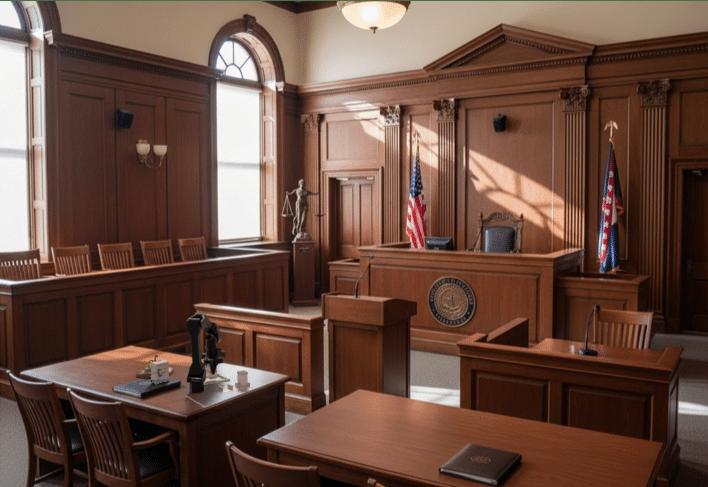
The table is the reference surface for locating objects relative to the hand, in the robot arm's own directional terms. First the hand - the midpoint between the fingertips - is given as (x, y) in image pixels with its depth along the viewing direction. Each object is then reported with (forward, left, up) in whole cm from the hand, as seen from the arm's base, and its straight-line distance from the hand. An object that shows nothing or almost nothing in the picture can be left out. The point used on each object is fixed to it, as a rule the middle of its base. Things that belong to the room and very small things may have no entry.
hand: (211, 373), depth 368 cm
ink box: (-24, +15, -5) cm, 29 cm away
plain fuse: (+8, -22, -4) cm, 24 cm away
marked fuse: (0, 0, -2) cm, 3 cm away
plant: (-19, +36, -5) cm, 41 cm away
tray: (0, 0, -4) cm, 4 cm away
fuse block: (+3, -22, -4) cm, 23 cm away
